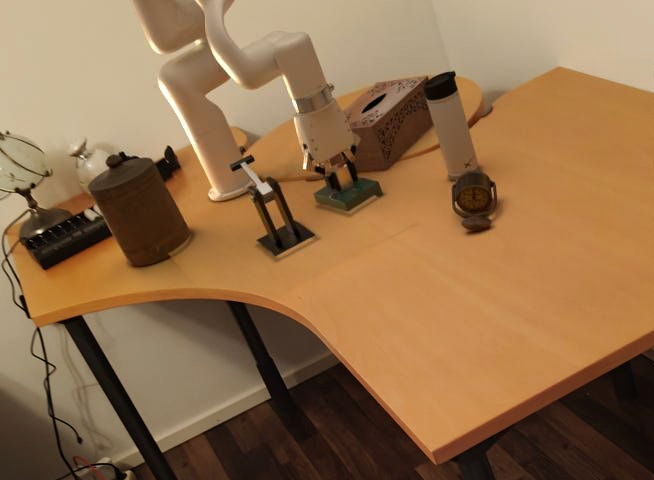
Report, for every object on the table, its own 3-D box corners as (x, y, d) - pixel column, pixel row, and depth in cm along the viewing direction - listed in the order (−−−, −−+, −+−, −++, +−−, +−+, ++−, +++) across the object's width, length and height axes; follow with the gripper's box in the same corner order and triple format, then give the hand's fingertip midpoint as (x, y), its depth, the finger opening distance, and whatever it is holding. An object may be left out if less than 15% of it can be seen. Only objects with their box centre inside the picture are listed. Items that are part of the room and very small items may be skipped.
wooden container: (157, 231, 195) (110, 142, 183) (204, 229, 188) (158, 136, 175) (115, 267, 186) (62, 176, 173) (163, 266, 178) (111, 171, 166)
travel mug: (479, 177, 166) (452, 78, 155) (447, 183, 168) (418, 86, 157) (483, 163, 171) (457, 66, 160) (451, 170, 173) (423, 74, 162)
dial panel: (318, 206, 179) (312, 192, 177) (350, 186, 182) (345, 172, 181) (349, 215, 170) (344, 201, 168) (383, 194, 174) (378, 180, 172)
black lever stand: (258, 244, 172) (232, 188, 165) (297, 224, 174) (272, 168, 167) (277, 260, 164) (250, 201, 156) (317, 239, 166) (292, 180, 159)
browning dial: (343, 193, 172) (334, 171, 170) (332, 190, 175) (324, 169, 172) (358, 184, 174) (350, 162, 171) (347, 181, 177) (339, 160, 174)
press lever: (231, 171, 168) (228, 162, 166) (253, 160, 169) (250, 151, 167) (259, 207, 163) (256, 198, 160) (281, 195, 164) (279, 186, 162)
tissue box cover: (386, 170, 184) (371, 126, 178) (334, 173, 191) (318, 131, 186) (439, 117, 200) (427, 75, 194) (389, 122, 207) (376, 82, 202)
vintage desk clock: (511, 168, 152) (459, 161, 155) (486, 197, 143) (431, 189, 146) (511, 205, 156) (460, 198, 160) (486, 236, 147) (433, 227, 151)
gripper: (335, 81, 170) (365, 164, 180) (268, 118, 164) (302, 202, 174) (356, 83, 164) (386, 169, 175) (287, 121, 158) (322, 208, 168)
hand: (344, 184), depth 174 cm, fingers closed on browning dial, 4 cm apart
